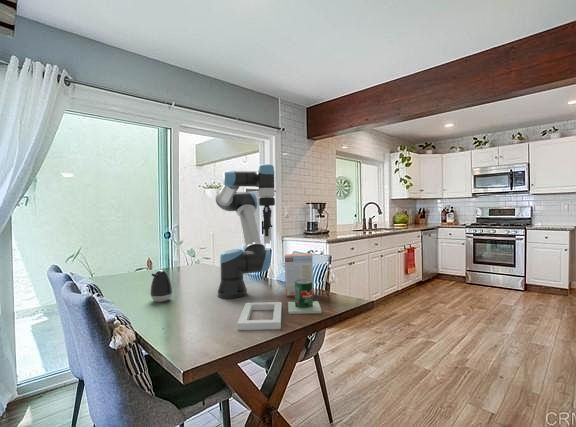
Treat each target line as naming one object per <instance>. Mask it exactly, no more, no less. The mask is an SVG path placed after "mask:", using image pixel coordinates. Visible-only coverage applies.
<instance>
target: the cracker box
mask: <svg viewBox="0 0 576 427" xmlns="http://www.w3.org/2000/svg"><path fill="white" fill-rule="evenodd" d="M284 255H285V256H284V276H285V277H284V279H285V280H284V281H285V297H295V281H296V280H301V279H307V280H312V294H313V295H312V296H313V297H314V273H313V272H314V270H313V269H314V267H313V254H312V253H311V254H310V253H292V254H291V253H290V254H284Z"/></svg>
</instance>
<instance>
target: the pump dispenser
mask: <svg viewBox="0 0 576 427" xmlns="http://www.w3.org/2000/svg"><path fill="white" fill-rule="evenodd" d="M151 276H152V277H153V278H152V281H151V285H150V291H149V293H150V297H151V299H152V301H154V302H156V303H164V302H167V301H169V300H170V299H171V297H172V294H173V286H172V282H171V279H170V277H169V274H168V273H167V272H166V271H165V270H162V269H161V270H160V269H159V270H158V271H156V272H155V273H152V274H151Z"/></svg>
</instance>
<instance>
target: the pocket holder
mask: <svg viewBox="0 0 576 427" xmlns="http://www.w3.org/2000/svg"><path fill="white" fill-rule="evenodd" d="M282 306H283V305H282V301H276V302H275V301H271V302H269V301H268V302H267V301H266V302H265V301H264V302H262V301H261V302H245V304H244V306H243V309H242V311H241V312H240V313H241V314H240V316H239V318H238V319H237V320H238V321H237V323H236V324H237V325H236V328H237V331H253V330H254V331H255V330H256V331H258V330H260V331H261V330H282V311H283V310H282ZM253 311H273V316H272V319H252V320H251V319H250V317H251V316H252V315H251V314H252V312H253Z"/></svg>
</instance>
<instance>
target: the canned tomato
mask: <svg viewBox="0 0 576 427" xmlns="http://www.w3.org/2000/svg"><path fill="white" fill-rule="evenodd" d="M312 295H313V296H312ZM313 297H314V293H313V294H312V280H307V279H301V280H296V281H295V296H294V302H295V307H297V308H301V309H307V308H311V307H313Z"/></svg>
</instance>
